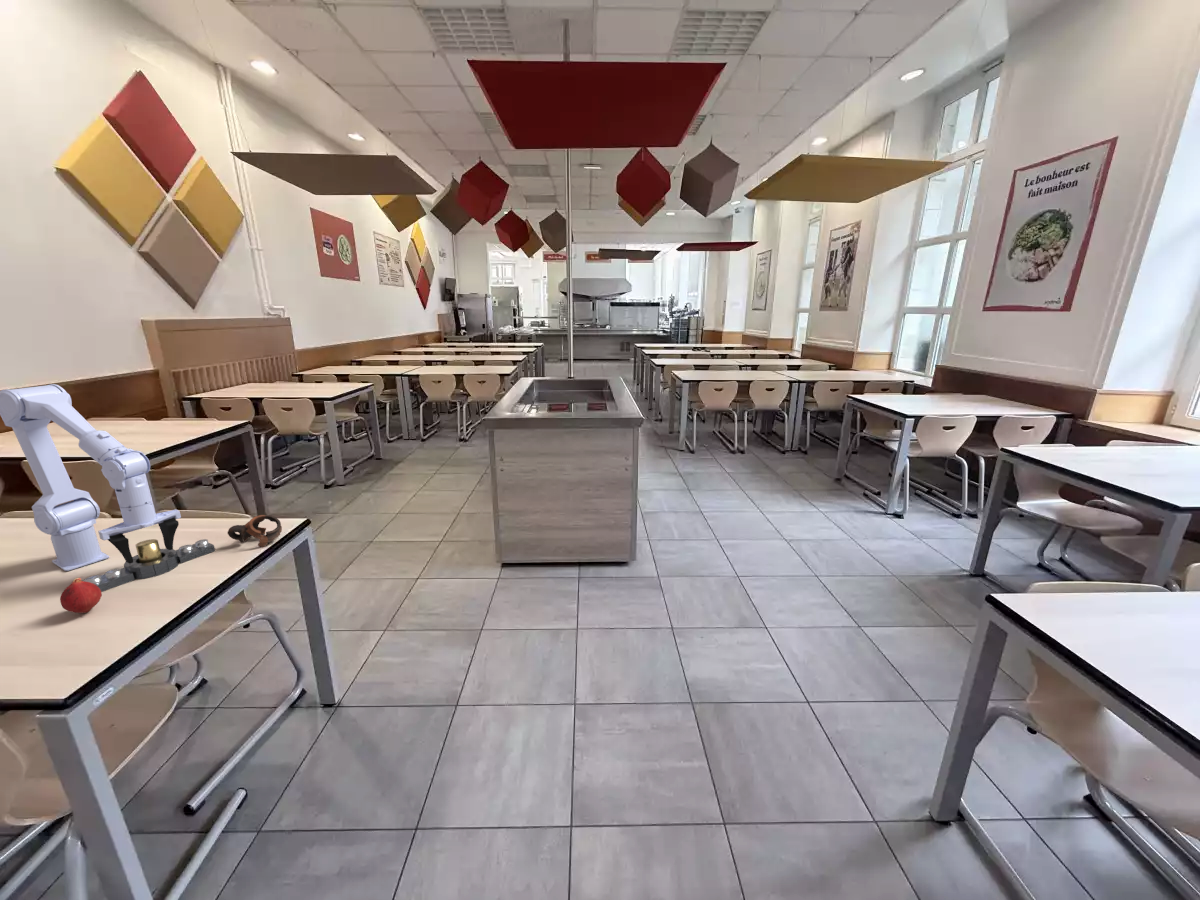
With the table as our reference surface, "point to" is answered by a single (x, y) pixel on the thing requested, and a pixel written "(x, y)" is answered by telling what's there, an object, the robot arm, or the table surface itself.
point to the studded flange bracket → (151, 565)
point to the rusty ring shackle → (256, 530)
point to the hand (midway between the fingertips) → (150, 555)
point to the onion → (80, 596)
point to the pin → (148, 551)
